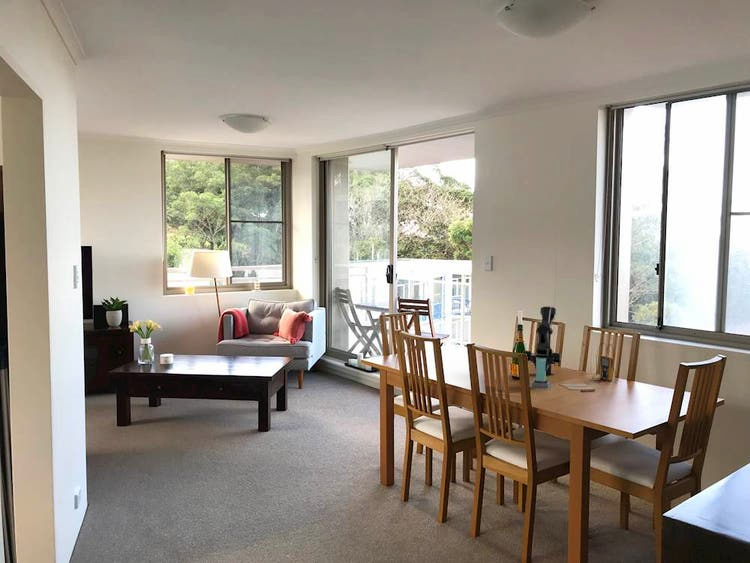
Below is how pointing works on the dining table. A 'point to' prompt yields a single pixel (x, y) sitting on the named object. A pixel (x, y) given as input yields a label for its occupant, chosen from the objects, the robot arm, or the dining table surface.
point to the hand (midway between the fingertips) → (540, 370)
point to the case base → (541, 384)
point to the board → (578, 387)
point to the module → (540, 369)
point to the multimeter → (606, 366)
